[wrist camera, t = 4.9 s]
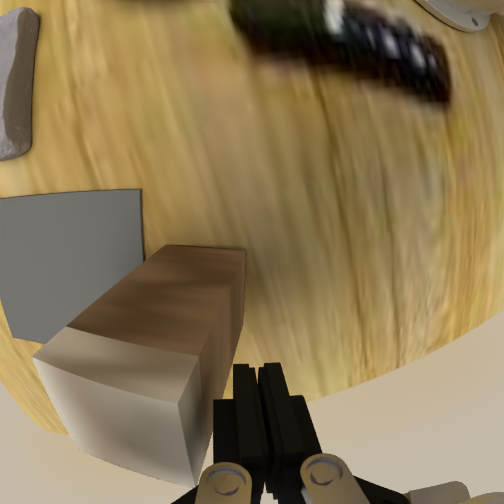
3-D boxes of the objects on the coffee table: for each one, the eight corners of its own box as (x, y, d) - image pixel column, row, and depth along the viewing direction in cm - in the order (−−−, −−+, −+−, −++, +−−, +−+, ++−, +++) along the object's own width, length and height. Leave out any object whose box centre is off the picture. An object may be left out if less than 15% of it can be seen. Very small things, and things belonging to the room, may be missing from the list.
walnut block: (246, 250, 18) (177, 404, 6) (243, 323, 19) (195, 488, 8) (166, 244, 18) (31, 356, 7) (170, 314, 20) (79, 449, 8)
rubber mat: (141, 188, 17) (139, 189, 16) (155, 353, 20) (154, 356, 20) (-15, 200, 15) (-18, 201, 15) (15, 335, 19) (12, 337, 19)
